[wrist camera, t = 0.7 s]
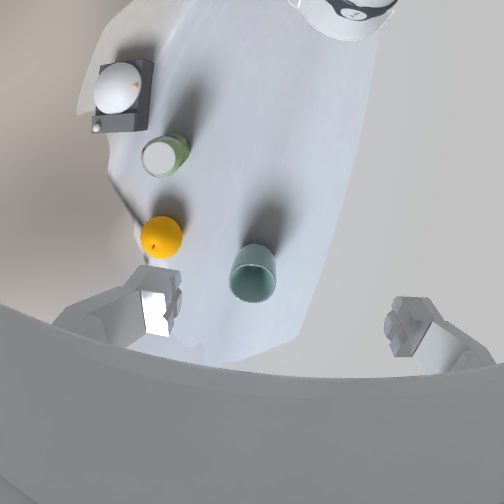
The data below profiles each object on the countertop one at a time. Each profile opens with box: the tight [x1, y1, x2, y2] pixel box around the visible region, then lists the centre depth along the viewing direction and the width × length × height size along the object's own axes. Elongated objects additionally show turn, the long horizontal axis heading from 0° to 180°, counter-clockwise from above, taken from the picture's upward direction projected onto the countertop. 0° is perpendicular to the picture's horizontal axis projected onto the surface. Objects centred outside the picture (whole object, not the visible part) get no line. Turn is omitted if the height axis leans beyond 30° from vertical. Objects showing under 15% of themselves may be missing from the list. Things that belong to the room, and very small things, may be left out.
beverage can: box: [141, 133, 190, 177], centre depth 40 cm, size 6×7×12 cm
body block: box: [92, 59, 154, 133], centre depth 39 cm, size 13×10×6 cm
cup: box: [229, 244, 276, 303], centre depth 50 cm, size 8×8×10 cm
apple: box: [140, 216, 182, 259], centre depth 50 cm, size 8×8×8 cm
